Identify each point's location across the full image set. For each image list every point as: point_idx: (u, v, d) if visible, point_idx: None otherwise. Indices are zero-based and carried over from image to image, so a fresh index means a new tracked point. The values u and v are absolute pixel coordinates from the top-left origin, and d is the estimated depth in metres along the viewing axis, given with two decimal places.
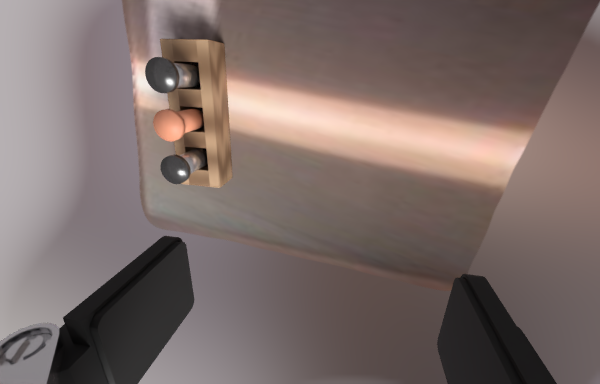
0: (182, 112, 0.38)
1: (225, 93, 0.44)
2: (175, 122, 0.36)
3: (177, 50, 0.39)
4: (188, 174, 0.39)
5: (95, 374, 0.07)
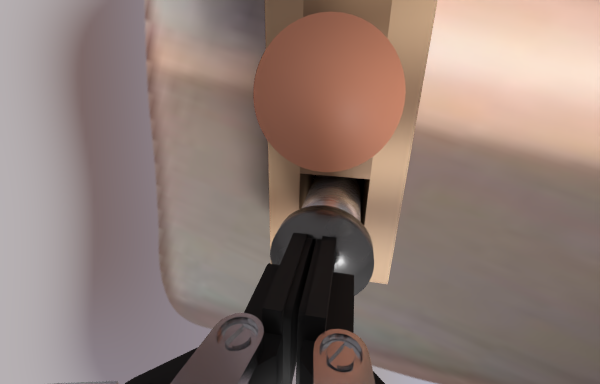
0: None
1: None
2: (373, 80, 0.07)
3: None
4: None
5: (280, 362, 0.07)
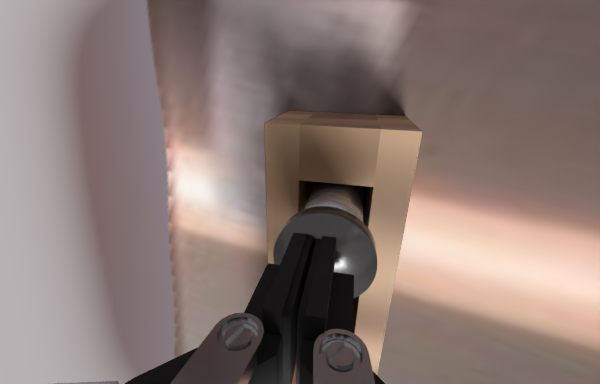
0: None
1: None
2: None
3: (313, 154, 0.13)
4: None
5: (280, 362, 0.07)
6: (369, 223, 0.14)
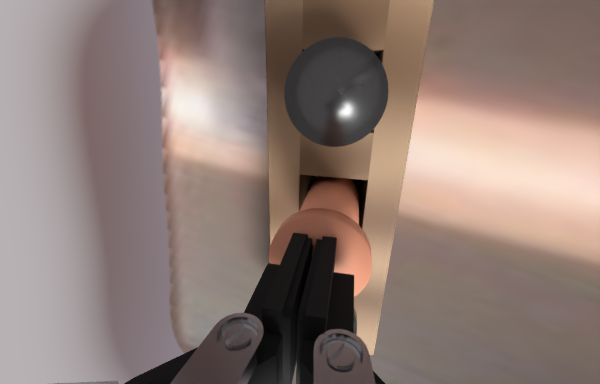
0: (339, 202, 0.13)
1: None
2: (350, 256, 0.11)
3: (318, 14, 0.12)
4: None
5: (280, 362, 0.07)
6: None
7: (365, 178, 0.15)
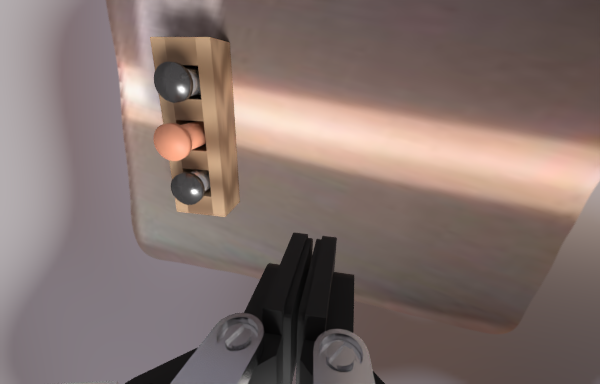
0: (188, 125, 0.32)
1: (231, 103, 0.36)
2: (180, 138, 0.30)
3: (171, 51, 0.31)
4: (202, 194, 0.34)
5: (280, 361, 0.07)
6: (200, 84, 0.32)
7: (202, 120, 0.33)
